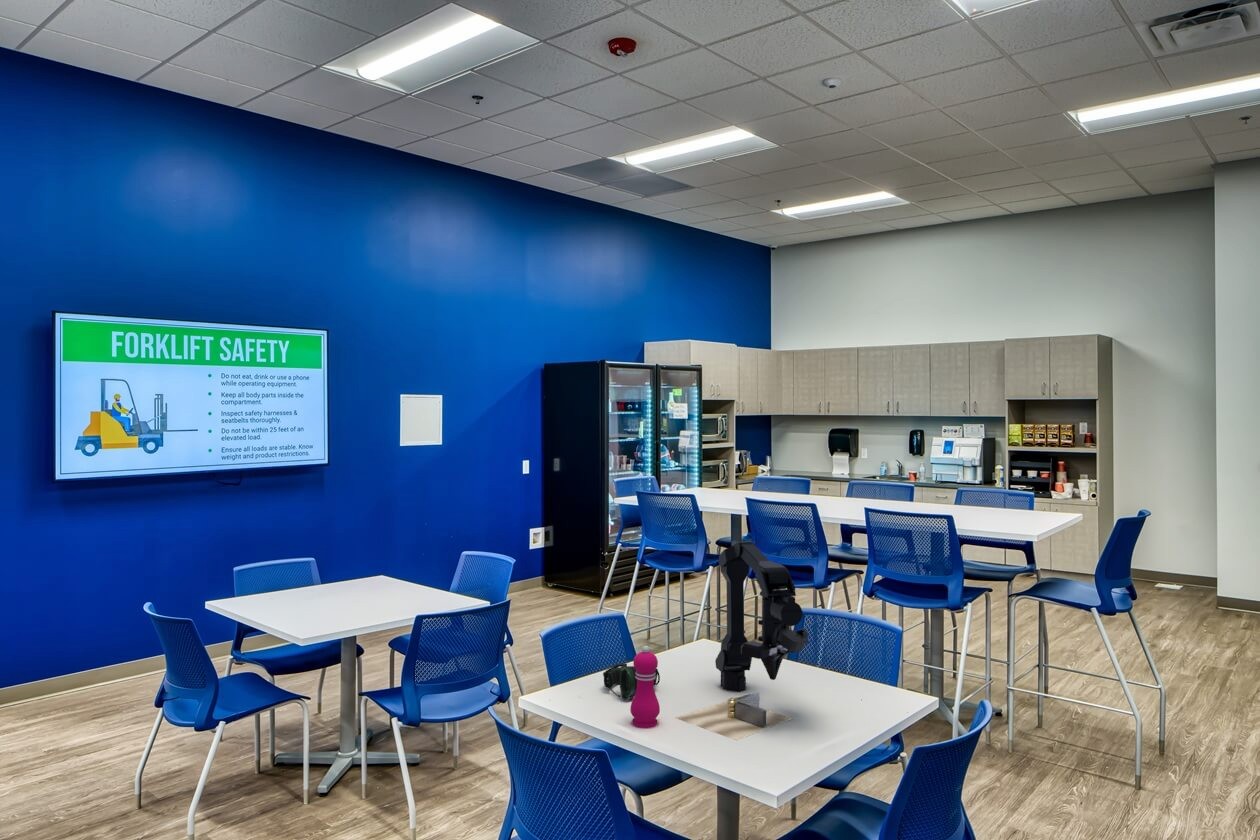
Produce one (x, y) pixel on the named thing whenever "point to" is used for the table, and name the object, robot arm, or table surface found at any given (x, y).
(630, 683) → the headphones
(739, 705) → the swing leaf
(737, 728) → the board
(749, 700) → the fixed leaf
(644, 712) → the pepper mill
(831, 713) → the table surface
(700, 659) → the table surface
